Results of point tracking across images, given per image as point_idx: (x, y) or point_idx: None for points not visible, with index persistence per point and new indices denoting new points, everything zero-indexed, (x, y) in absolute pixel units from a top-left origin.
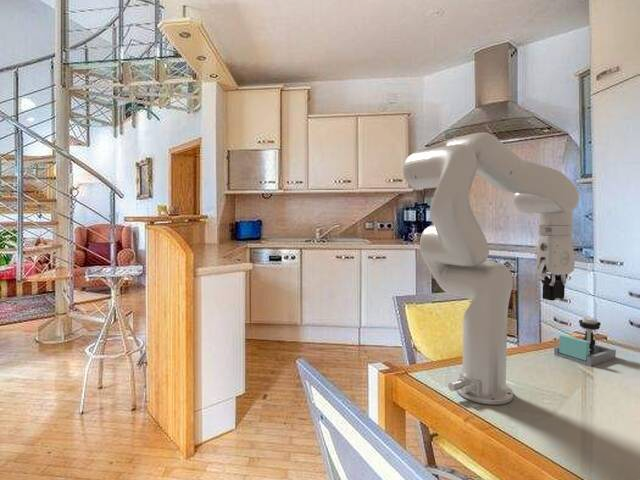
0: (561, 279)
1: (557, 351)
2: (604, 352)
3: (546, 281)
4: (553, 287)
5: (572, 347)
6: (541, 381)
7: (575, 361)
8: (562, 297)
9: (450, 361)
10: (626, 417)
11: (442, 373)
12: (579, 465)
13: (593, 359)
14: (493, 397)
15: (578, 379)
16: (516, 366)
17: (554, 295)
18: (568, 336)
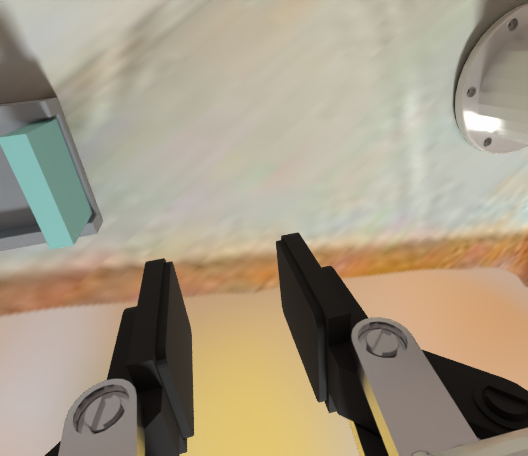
0: (143, 452)
1: (95, 217)
2: None
3: (467, 373)
4: (343, 309)
5: (64, 179)
6: (331, 72)
7: (76, 151)
8: (169, 263)
9: (414, 260)
10: None
11: (487, 208)
12: None
13: (26, 102)
14: None
15: (209, 29)
16: (299, 184)
17: (306, 252)
18: (45, 221)
